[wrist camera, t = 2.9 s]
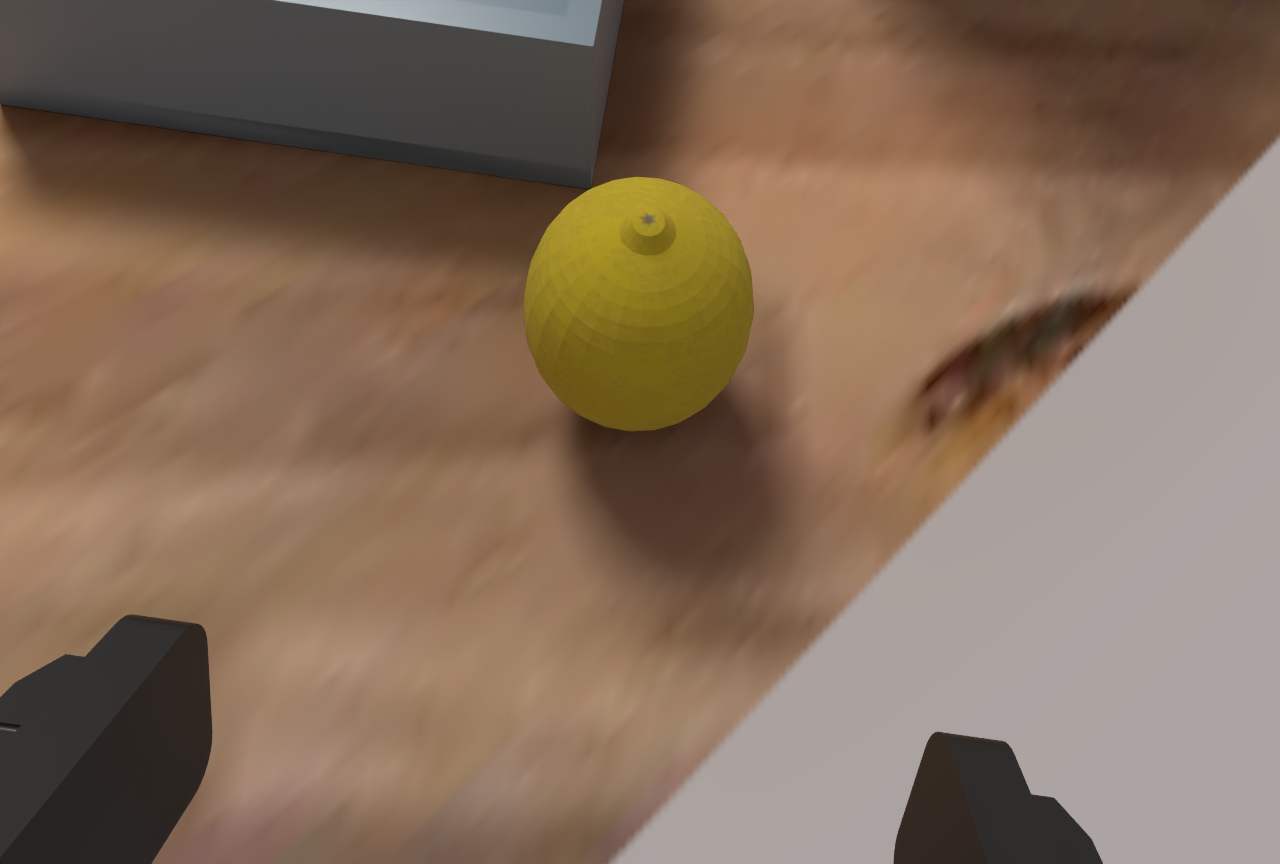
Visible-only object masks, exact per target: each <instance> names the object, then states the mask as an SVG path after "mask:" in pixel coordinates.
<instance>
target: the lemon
mask: <svg viewBox="0 0 1280 864" xmlns="http://www.w3.org/2000/svg"><path fill="white" fill-rule="evenodd" d="M523 311H524V320H525V329H526V337H527V343H528V346H529V348H530V351H531V353H532V356H533V358H534V361H535V363H536V365H537V368H538V370H539V373H540V374H541V376H542V378H543V379H544V380H545V382H546V383H547V384H548V386H549V387H550V388H551V389H552V391H553V392H554V393H555V395H556V396H557V397H558V398H559V399H560V400H561V401H562V402H563V403H564V404H566V405H567V406H568V407H570V408H571V409H572V410H574V411H575V412H576V413H577V414H579V415H580V416H581V417H584V418H586V419H588V420H590V421H593V422H595V423H597V424H599V425H602V426H604V427H608V428H614V429H620V430H625V431H645V430H657V429H661V428H664V427H667V426H671V425H674V424H677V423H680V422H682V421H684V420H685V419H687V418H689V417H690V416H692V415H694V414H695V413H697V412H699V411H700V410H702V409H703V408H705V407H706V406H707V405H708V404H709V403H710V402H711V401H712V400H713V399H714V398H715V397H716V396H717V395H718V394H719V393H720V392H721V391H722V390H723V389H724V388H725V386H726V385H727V384H728V383H729V381H730V380H731V378H732V376H733V374H734V372H735V370H736V369H737V367H738V365H739V363H740V361H741V360H742V358H743V356H744V353H745V351H746V347H747V343H748V339H749V334H750V329H751V325H752V320H753V313H754V305H753V290H752V277H751V270H750V267H749V263H748V260H747V257H746V255H745V252H744V249H743V246H742V243H741V240H740V238H739V237H738V235H737V233H736V232H735V230H734V229H733V227H732V226H731V224H730V223H729V222H728V220H727V219H726V217H725V216H724V214H723V213H721V212H720V211H719V210H718V209H717V208H716V207H715V206H713V205H712V204H711V203H710V202H709V201H708V200H707V199H706V198H704V197H703V196H702V195H700V194H698V193H696V192H694V191H692V190H691V189H689V188H687V187H685V186H683V185H681V184H677V183H674V182H671V181H667V180H664V179H660V178H647V177H632V178H625V179H618V180H613V181H610V182H607V183H605V184H602V185H599V186H597V187H594V188H592V189H590V190H588V191H586V192H585V193H583V194H582V195H580V196H579V197H577V198H576V199H574V200H573V201H572V202H570V203H569V204H568V205H567V206H566V207H565V208H564V209H563V210H562V211H561V213H560V214H559V215H558V216H557V217H556V218H555V219H554V220H553V222H552V223H551V224H550V225H549V226H548V228H547V229H546V231H545V233H544V235H543V237H542V239H541V241H540V243H539V245H538V247H537V249H536V251H535V253H534V256H533V258H532V260H531V263H530V267H529V270H528V276H527V282H526V288H525V294H524V301H523Z"/></svg>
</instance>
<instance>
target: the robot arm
mask: <svg viewBox="0 0 1280 864" xmlns="http://www.w3.org/2000/svg"><path fill="white" fill-rule="evenodd" d="M211 745H212V717H211V699H210V681H209V663H208V645H207V636H206V632H205V630H204V628H203V627H202V626H201V625H199V624H195V623H188V622H181V621H174V620H167V619H160V618H153V617H146V616H139V615H127V616H125V617H123V618H122V619H120V620H119V621H118V622H117V623H116V624H115V625H114V626H113V627H112V628H111V629H110V630H109V632H108V633H107V634H106V635H105V636H104V637H103V638H102V639H101V640H100V641H99V642H98V643H97V644H96V646H95V647H94V648H93V649H92V650H91V651H90V652H89V653H88V654H87V655H86V656H85V657H81V656H74V655H67V654H65V655H63V656H62V657H60V658H58V659H56V660H55V661H53V662H51V663H49V664H47V665H46V666H44V667H42V668H40V669H38V670H37V671H35V672H33V673H31V674H30V675H28V676H26V677H24V678H22V679H21V680H19V681H17V682H15V683H14V684H13V685H12V686H11V687H10V688H9V689H8V690H7V691H6V692H5V693H4V694H3V695H2V696H1V697H0V864H151V863H152V862H153V860H154V859H155V857H156V855H157V854H158V852H159V851H160V849H161V848H162V846H163V844H164V843H165V841H166V840H167V838H168V836H169V835H170V833H171V832H172V830H173V829H174V827H175V825H176V824H177V822H178V821H179V819H180V817H181V816H182V814H183V813H184V811H185V810H186V808H187V806H188V805H189V803H190V802H191V800H192V798H193V797H194V795H195V793H196V792H197V790H198V788H199V786H200V784H201V781H202V779H203V776H204V774H205V771H206V768H207V764H208V761H209V756H210V752H211ZM894 864H1103V863H1102V861H1101V858H1100V856H1099V854H1098V852H1097V850H1096V848H1095V846H1094V844H1093V841H1092V839H1091V838H1090V837H1089V836H1088V835H1087V833H1086V832H1085V831H1084V830H1083V829H1082V828H1081V827H1080V826H1079V825H1078V824H1077V823H1076V821H1075V820H1074V819H1073V818H1072V817H1071V816H1070V815H1069V814H1068V813H1067V811H1066V810H1065V809H1064V808H1063V807H1062V806H1061V805H1060V804H1059V803H1058V802H1057V800H1055V798H1051V797H1045V796H1038V795H1031V793H1030V791H1029V788H1028V786H1027V784H1026V781H1025V779H1024V776H1023V774H1022V771H1021V769H1020V767H1019V764H1018V762H1017V760H1016V757H1015V755H1014V753H1013V751H1012V749H1011V747H1010V746H1009V745H1008V744H1007V743H1006V742H1004V741H998V740H991V739H984V738H977V737H970V736H963V735H956V734H949V733H942V732H935V733H934V734H932V736H931V737H930V739H929V740H928V742H927V745H926V748H925V750H924V754H923V757H922V760H921V763H920V766H919V769H918V772H917V775H916V778H915V781H914V785H913V787H912V791H911V794H910V797H909V800H908V803H907V806H906V809H905V812H904V815H903V818H902V821H901V825H900V828H899V831H898V835H897V839H896V844H895V851H894Z"/></svg>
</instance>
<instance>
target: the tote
mask: <svg viewBox="0 0 1280 864" xmlns="http://www.w3.org/2000/svg"><path fill="white" fill-rule="evenodd" d="M623 4H624V0H0V104H1V105H8V106H15V107H22V108H28V109H35V110H42V111H49V112H56V113H63V114H70V115H77V116H84V117H91V118H98V119H105V120H112V121H119V122H126V123H133V124H140V125H146V126H153V127H160V128H167V129H174V130H181V131H188V132H195V133H202V134H209V135H216V136H223V137H230V138H237V139H244V140H251V141H258V142H265V143H271V144H278V145H285V146H292V147H299V148H306V149H313V150H320V151H327V152H334V153H341V154H348V155H355V156H362V157H369V158H376V159H383V160H389V161H396V162H403V163H410V164H417V165H424V166H431V167H438V168H445V169H452V170H459V171H466V172H473V173H480V174H487V175H494V176H501V177H507V178H514V179H521V180H528V181H535V182H542V183H549V184H556V185H563V186H570V187H577V188H584V189H591V186H592V180H593V174H594V169H595V163H596V157H597V152H598V146H599V140H600V134H601V129H602V123H603V117H604V112H605V106H606V100H607V95H608V89H609V83H610V78H611V72H612V66H613V61H614V55H615V49H616V44H617V38H618V32H619V27H620V21H621V15H622V10H623Z"/></svg>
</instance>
